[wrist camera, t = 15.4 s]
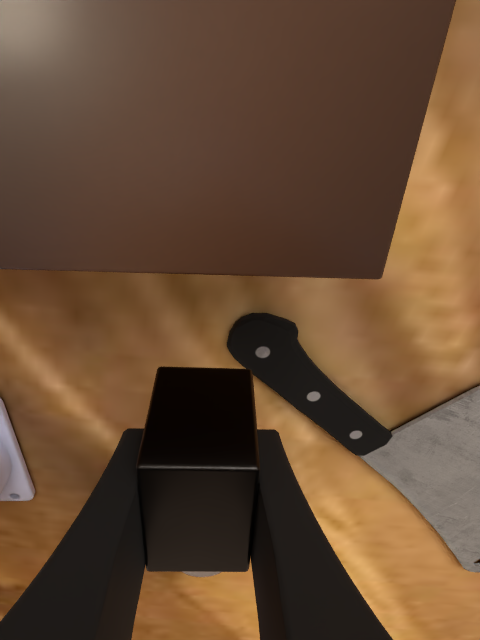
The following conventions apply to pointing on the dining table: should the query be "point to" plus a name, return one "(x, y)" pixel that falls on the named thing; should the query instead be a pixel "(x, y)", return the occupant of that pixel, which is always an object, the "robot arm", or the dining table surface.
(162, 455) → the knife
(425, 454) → the cleaver
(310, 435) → the dining table surface
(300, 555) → the robot arm
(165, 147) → the cabinet
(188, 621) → the dining table surface
